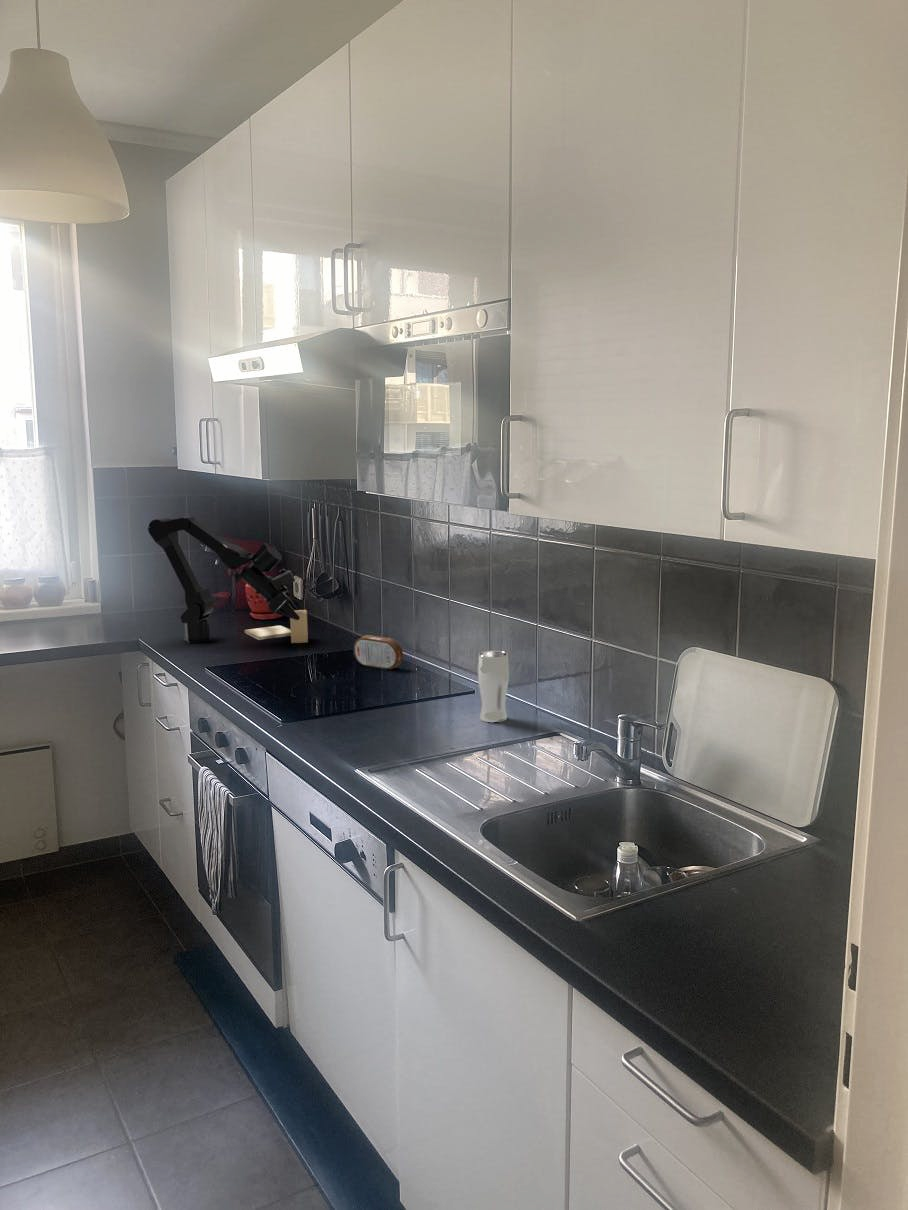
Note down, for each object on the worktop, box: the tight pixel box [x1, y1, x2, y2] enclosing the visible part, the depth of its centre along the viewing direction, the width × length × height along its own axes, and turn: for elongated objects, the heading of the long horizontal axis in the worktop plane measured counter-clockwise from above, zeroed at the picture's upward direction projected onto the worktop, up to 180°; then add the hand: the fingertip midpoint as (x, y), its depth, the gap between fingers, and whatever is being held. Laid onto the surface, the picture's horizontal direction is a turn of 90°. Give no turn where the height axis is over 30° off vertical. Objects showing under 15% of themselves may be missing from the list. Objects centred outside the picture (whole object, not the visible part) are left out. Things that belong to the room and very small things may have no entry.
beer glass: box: [477, 649, 510, 724], centre depth 221 cm, size 7×7×15 cm
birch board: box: [244, 625, 291, 641], centre depth 311 cm, size 12×12×1 cm
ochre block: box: [289, 609, 309, 644], centre depth 301 cm, size 5×5×9 cm
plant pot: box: [244, 583, 286, 621], centre depth 336 cm, size 13×13×12 cm
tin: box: [353, 634, 404, 670], centre depth 268 cm, size 15×3×8 cm, turn 58°
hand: (298, 616), depth 300 cm, fingers open, 9 cm apart
